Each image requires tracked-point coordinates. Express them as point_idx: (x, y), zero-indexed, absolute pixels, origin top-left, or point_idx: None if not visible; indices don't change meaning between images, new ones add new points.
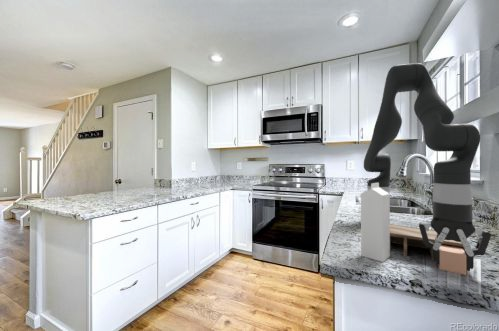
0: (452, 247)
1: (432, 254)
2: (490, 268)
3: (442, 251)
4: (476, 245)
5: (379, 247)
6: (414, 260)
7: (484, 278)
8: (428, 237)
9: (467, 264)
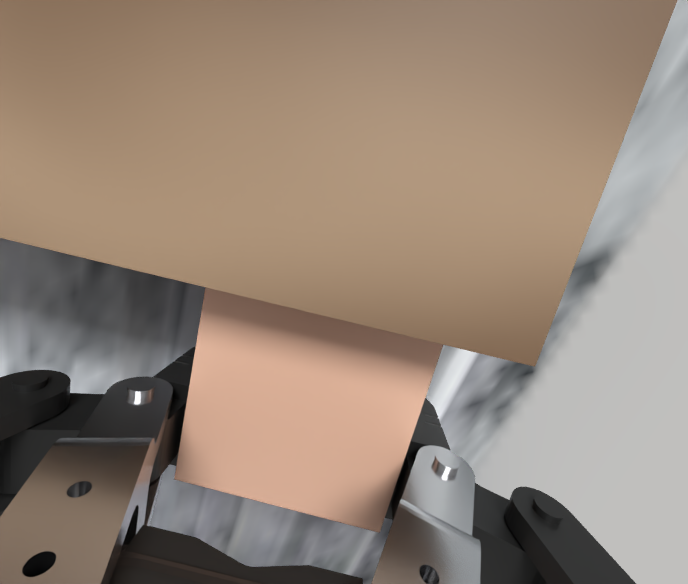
0: (341, 332)
1: (176, 360)
2: (611, 226)
3: (201, 478)
4: (557, 569)
5: None
6: (120, 278)
7: (455, 426)
8: (61, 170)
9: None
